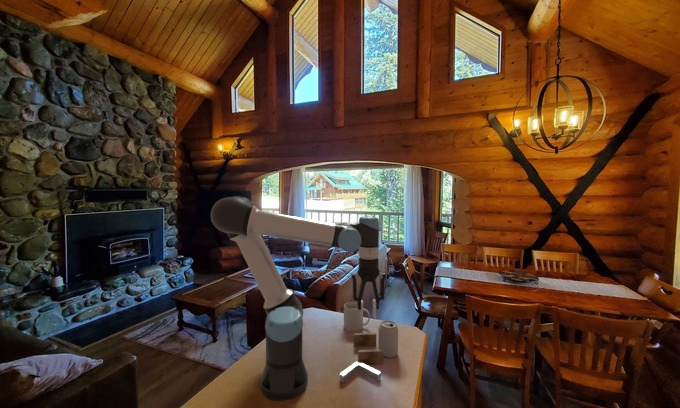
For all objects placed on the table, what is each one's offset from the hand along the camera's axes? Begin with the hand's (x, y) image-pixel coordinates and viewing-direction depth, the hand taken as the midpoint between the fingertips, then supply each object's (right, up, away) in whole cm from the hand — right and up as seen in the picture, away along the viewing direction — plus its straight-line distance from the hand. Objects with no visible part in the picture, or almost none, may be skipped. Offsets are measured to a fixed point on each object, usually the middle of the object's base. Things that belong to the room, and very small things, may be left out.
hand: (368, 317), depth 109 cm
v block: (-4, -15, -12) cm, 20 cm away
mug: (-4, -14, +22) cm, 27 cm away
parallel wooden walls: (0, -15, +1) cm, 15 cm away
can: (+8, -15, +1) cm, 17 cm away
